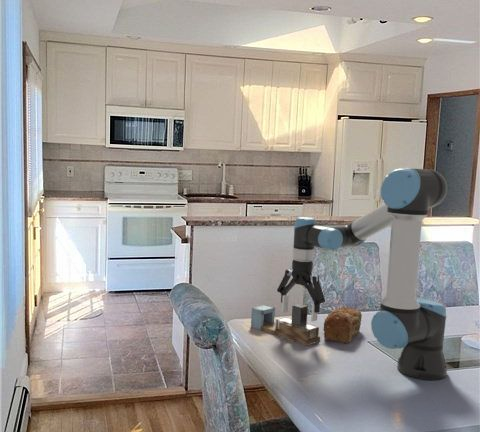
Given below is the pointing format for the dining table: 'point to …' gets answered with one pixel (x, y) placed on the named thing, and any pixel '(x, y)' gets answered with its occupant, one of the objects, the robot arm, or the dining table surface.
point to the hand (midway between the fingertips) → (298, 316)
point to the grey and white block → (298, 319)
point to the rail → (291, 332)
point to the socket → (262, 315)
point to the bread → (342, 325)
